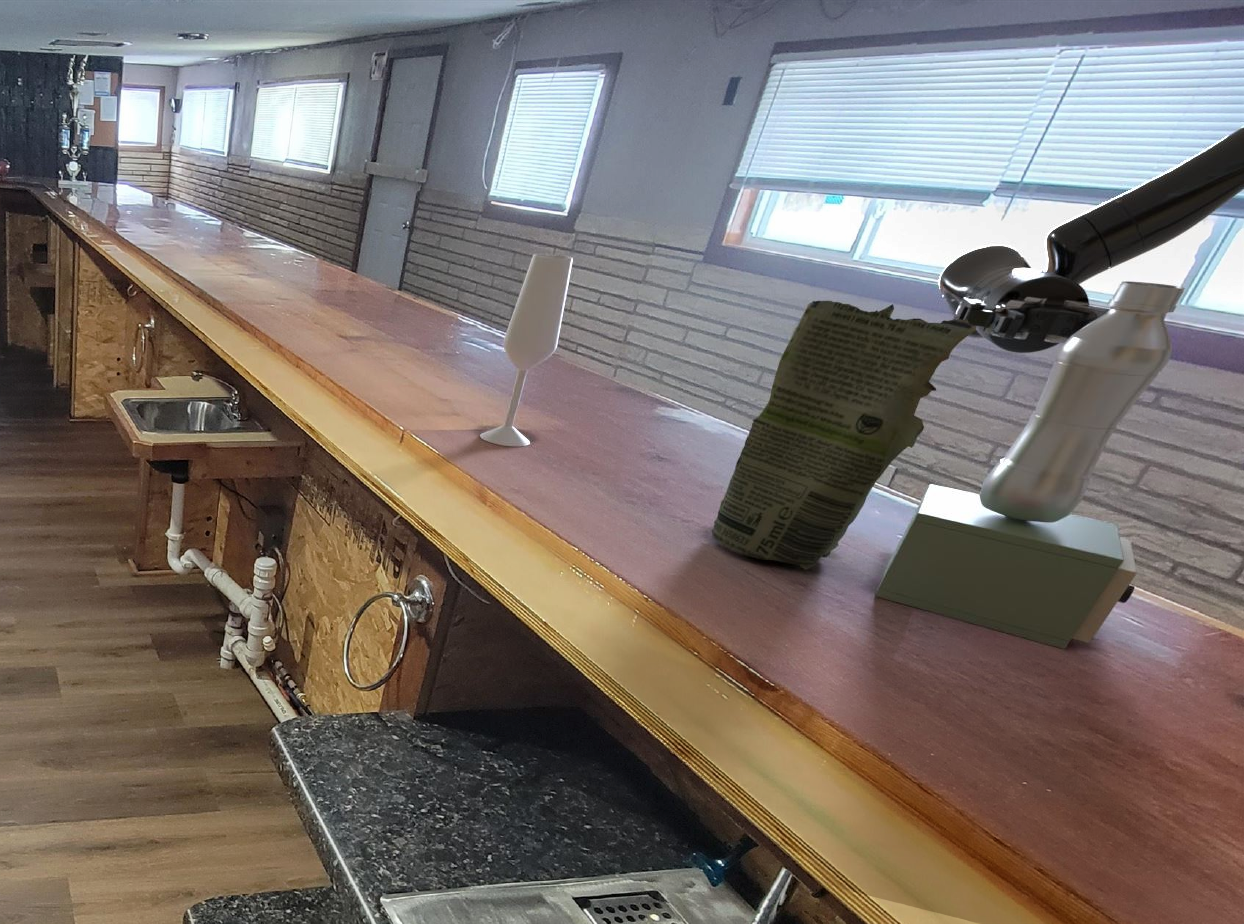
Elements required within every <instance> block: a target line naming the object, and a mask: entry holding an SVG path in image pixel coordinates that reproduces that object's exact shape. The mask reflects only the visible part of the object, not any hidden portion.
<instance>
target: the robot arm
mask: <svg viewBox="0 0 1244 924" xmlns="http://www.w3.org/2000/svg"><path fill="white" fill-rule="evenodd" d="M1243 190H1244V125H1243V126H1242V127H1240V128H1238V129H1237V130H1235V131H1233V132H1231V134H1229V135H1227V136H1225V137H1224V138H1222V139H1221V140H1219V141H1217V142H1216V143H1214V144H1212V145H1211V146H1209V147H1207V148H1206V149H1204V150H1202V151H1201V152H1199V153H1198V154H1195V155H1194V156H1192V157H1191V158H1188V159H1187V160H1184V161H1183V162H1181V163H1180V164H1178V165H1177V166H1175V167H1173V168H1170V169H1169V170H1167V171H1165V172H1164V173H1161V174H1160V175H1158V176H1156V177H1153V178H1152V179H1150V180H1148V181H1146V182H1144V183H1142V184H1141V185H1138V186H1136V187H1134V188H1132V189H1131V190H1128V191H1126V192H1124V193H1122V194H1120V195H1118V196H1116V197H1114V198H1111V199H1110V200H1108V201H1105V202H1102V203H1101V204H1099V205H1097V206H1095V207H1093V208H1090V209H1089V210H1087V211H1085V212H1083V213H1081V214H1079V215H1076V216H1074V217H1072V218H1070V219H1068V220H1066V221H1065V222H1063V223H1061V224H1059V225H1057V226H1055V227H1053V228H1052V229H1051V230H1049V232H1048V233H1047V234H1046V236H1045V239H1044V247H1045V255H1046V267H1045V270H1037V269H1033V268H1032V267H1031V266H1030V264H1029V263H1028V261H1027V260H1026V259H1025V257H1024V256H1023V255H1022V254H1021V253H1020V252H1019V251H1018V249H1016V248H1015V247H1013V246H1011V245H1007V244H1006V245H1005V244H990V245H984V246H979V247H976V248H973V249H971V250H969V251H966V252H964V253H962V254H960V255H959V256H957V257H956V258H954V259H953V260H952V261H951V262H949V263H948V265H947V266H945V268H944V269H943V270H942V272H941V274H940V276H939V279H938V287H939V290H940V293H941V295H942V297H943V299H944V300H945V302H946V304H947V306H948V308H949V311H950V312H951V313H952V315H953V318H952V320H960V319H961V320H965V319H968V323H969V324H971V325H973V326H976V330H975V331H974V332H972V333H971V334H970V335H968V336H967V337H968V338H972V339H986V340H988V341H989V342H990V343H992V344H994V345H995V346H997V347H998V348H999V349H1002V350H1005V351H1007V352H1012V353H1018V354H1029V353H1036V352H1042V351H1045V350H1048V349H1051V348H1053V347H1056V346H1058V345H1059V344H1064V343H1065V342H1066V341H1067V340H1068V339H1069V338H1070V337H1071V336H1072V335H1073V334H1075V333H1076V332H1077V331H1079V330H1080V329H1082V328H1083V327H1085V326H1086V325H1088V324H1089V323H1091V322H1093V321H1094V320H1096V319H1098V318H1100V317H1101V316H1103V315H1105V314H1106V313H1107V312H1108V311H1109V310H1110V308H1107V307H1106V308H1105V307H1100V306H1095V305H1090V300H1089V296H1088V294H1087V292H1086V290H1085V288H1084V287H1082V286H1081V285H1080V284H1082V283H1084V282H1086V281H1088V280H1089V279H1091V278H1093V277H1095V276H1097V275H1099V274H1101V273H1103V272H1105V271H1106V272H1107V271H1108V270H1111V269H1112V268H1114V267H1117V266H1119V265H1122V264H1123V263H1126V262H1128V261H1130V260H1133V259H1135V258H1137V257H1139V256H1141V255H1144V254H1145V253H1148V252H1150V251H1152V250H1154V249H1157V248H1159V247H1161V246H1163V245H1164V244H1167V243H1168V242H1170V241H1172V240H1174V239H1176V238H1177V237H1179V236H1181V235H1182V234H1184V233H1186V232H1187V231H1189V230H1190V229H1192V228H1193V227H1195V226H1196V225H1199V223H1201V222H1202V221H1203V220H1205V219H1206V218H1207V217H1209V216H1210V215H1211V214H1213V213H1214V212H1215V211H1217V210H1218V209H1219V208H1221V207H1222V206H1224V205H1225V204H1226V203H1227V202H1229V201H1230V200H1232V199H1233V198H1234V197H1236V196H1237V195H1238V194H1239V193H1241V192H1242V191H1243Z"/></svg>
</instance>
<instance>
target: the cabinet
mask: <svg viewBox="0 0 1244 924" xmlns="http://www.w3.org/2000/svg"><path fill="white" fill-rule="evenodd" d="M979 494H980V493H979ZM979 494H978V493H975V492H971V491H965V490H961V489H955V488H951V487H946V486H942V485H938V484H937V485H936V484H932V483H929V485H928V487H927V489H926V491H925V493H924V494H923V496H922V498H921V500H920V502H919V504H918V506H917V508H916V509H915V511H914V513H913V515H912V517H911V519H910V521H909V523H908V524H907V527H906V528H905V531H904V533H903V534H902V537H901V538H900V540H899V542H898V544H897V546H896V548H895V549H894V552H893V554H892V555H891V557H890V559H889V561H888V563H887V566H886V568H885V570H884V572H883V575H882V578H881V580H880V582H879V585H878V587H877V589H876V591H875V594H874V596H875V597H877V598H880V599H884V600H887V601H891V602H895V603H898V604H901V605H906V606H909V607H913V608H915V609H919V610H923V611H927V612H930V613H934V614H938V615H942V616H944V617H948V618H952V619H956V620H958V621H962V622H965V623H970V624H974V625H977V626H980V627H984V628H987V629H991V630H994V631H998V632H1001V633H1005V634H1009V635H1013V636H1016V637H1019V638H1023V639H1027V640H1030V641H1034V642H1037V643H1041V644H1045V645H1048V646H1051V647H1056V648H1059V649H1063V650H1065V649H1066V648H1067V647H1068V645H1069V644H1070V642H1071V641H1072V638H1073V636H1074V635H1075V633H1076V632H1077V630H1078V629H1079V627H1080V626H1081V624H1082V623H1083V621H1084V620H1085V618H1086V617H1087V615H1088V614H1089V612H1090V611H1091V609H1092V608H1093V606H1094V605H1095V603H1096V602H1097V600H1098V599H1099V597H1100V596H1101V594H1102V593H1103V591H1104V590H1105V588H1106V587H1107V585H1108V584H1109V582H1110V581H1111V579H1112V578H1113V576H1114V575H1115V573H1116V572H1117V570H1118V568H1119V567H1120V566H1121V564H1122V563H1123V561H1124V559H1123V553H1122V547H1121V542H1120V537H1121V536H1120V530H1119V525H1118V523H1114V522H1110V521H1106V520H1100V519H1096V518H1093V517H1086V516H1082V515H1077V514H1073V513H1070V514H1069V515H1068V516H1066V517H1064V518H1062V519H1060V520H1058V521H1056V522H1034V521H1025V520H1016V519H1012V518H1009V517H1007V516H1004V515H1001V514H999V513H996V512H993V511H991V510H989V509H987V508H985V507H983V506H982V504H981V500H980V496H979Z"/></svg>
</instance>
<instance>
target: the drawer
mask: <svg viewBox="0 0 1244 924" xmlns="http://www.w3.org/2000/svg"><path fill="white" fill-rule="evenodd" d="M1120 542H1121V547H1122V553H1123V559H1124V561H1123V563H1122V564H1121V566H1120V567H1119V568H1118V570H1117V572H1116V573H1115V575H1114V576H1113V578H1112V579H1111V581H1110V582H1109V584H1108V585H1107V587H1106V588H1105V590H1104V591H1103V593H1102V594H1101V596H1100V597H1099V599H1098V600H1097V602H1096V603H1095V605H1094V606H1093V608H1092V609H1091V611H1090V612H1089V614H1088V615H1087V617H1086V618H1085V620H1084V621H1083V623H1082V624H1081V626H1080V627H1079V629H1078V630H1077V632H1076V633H1075V635H1074V636H1073V638H1072V639H1073V640H1076V641H1080V642H1083V643H1088V644H1089V643H1091V641H1092V640H1093V639H1094V637H1095V636H1096V634H1097V633H1098V632H1099V630H1100V628H1101V627H1102V626H1103V624H1104V623H1105V621H1106V620H1107V618H1108V617H1109V615H1110V614H1111V612H1112V610H1113V609H1114V608H1115V606H1116V605H1117V604H1118V603H1121V604H1125V603H1127V601H1128V600H1129V599H1130V598H1131V596H1132V595H1133V593H1134V591H1135V585H1132V584H1131V583H1132V581H1133V580H1134V578H1135V577H1136V575H1137V574H1138V572H1137V565H1136V561H1135V560H1136V559H1135V555H1134V551H1133V546H1132V545H1133V544H1132V541H1131V538H1128V537H1123V536H1120ZM1072 639H1071V640H1072Z"/></svg>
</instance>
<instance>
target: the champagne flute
mask: <svg viewBox="0 0 1244 924" xmlns="http://www.w3.org/2000/svg"><path fill="white" fill-rule="evenodd" d="M573 259H574V258H573V256H569V255H561V254H551V253H535V254H532V257H531V260H530V262H529V266H528V269H527V272H526V275H525V277H524V281H523V284H522V285H521V288H520V291H519V295H518V298H517V300H516V304H515V306H514V308H513V312H512V315H511V318H510V319H509V320H510V321H509V324H508V326H507V329H506V332H505V335H504V337H503V341H502V344H503V349H504V351H505V354H506V356H507V357H508V359H509V360H510V362H511V363H512V365H513V366H514V367H515V368H516V369H518V370H517V374H516V378H515V381H514V385H513V389H512V392H511V396H510V400H509V404H508V408H507V412H506V415H505V419H504V423H503V424H502V425H500V426H498V427H495V428H493V429H490V430H488V431H485V432H482V433H480V435H479V437H480V438H481V439H482V440H484V441H486V442H488V443H491V444H495V445H498V446H503V447H504V446H505V447H526V446H528V445H530V444H531V442H530V440H529V439H528V438H527V437H525V436H524V435H523V434H522V433H521V432H520V431H519V430H517V428H515V427H514V423H515V419H516V416H517V411H518V408H519V405H520V401H521V397H522V393H523V390H524V387H525V386H524V385H525V381H526V378H527V374H528V371H529V370H533V369H535V368H536V367H537V366H539V365H541V364H542V363H543V362H545V361H547V360H548V359H549V358H550V357H552V355H553V354H554V353H555V352H556V350H557V348H558V342H559V337H560V332H561V328H562V327H561V326H562V320H563V315H564V311H565V310H564V309H565V304H566V299H567V293H568V287H569V282H570V276H571V271H572V266H573V261H574V260H573Z"/></svg>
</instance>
